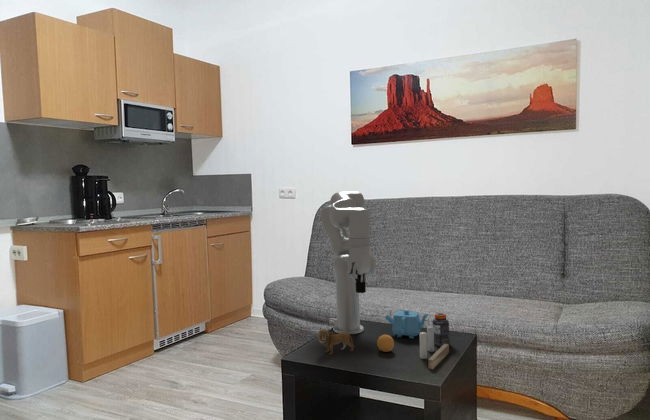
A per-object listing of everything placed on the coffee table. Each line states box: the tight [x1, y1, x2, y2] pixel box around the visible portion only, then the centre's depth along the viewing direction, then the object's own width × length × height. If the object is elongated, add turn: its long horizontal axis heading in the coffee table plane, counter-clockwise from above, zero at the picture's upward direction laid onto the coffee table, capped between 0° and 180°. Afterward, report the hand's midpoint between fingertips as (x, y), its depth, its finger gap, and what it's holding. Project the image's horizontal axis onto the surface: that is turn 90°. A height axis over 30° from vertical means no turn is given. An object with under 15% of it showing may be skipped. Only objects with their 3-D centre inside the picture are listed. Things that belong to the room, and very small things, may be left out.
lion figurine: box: [317, 328, 356, 355], centre depth 171 cm, size 15×5×9 cm, turn 116°
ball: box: [376, 334, 395, 353], centre depth 170 cm, size 6×6×6 cm
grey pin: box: [426, 325, 435, 353], centre depth 169 cm, size 2×2×8 cm
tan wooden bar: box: [427, 343, 450, 370], centre depth 160 cm, size 2×18×3 cm, turn 149°
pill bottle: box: [432, 312, 450, 347], centre depth 177 cm, size 6×6×11 cm
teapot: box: [384, 309, 430, 340], centre depth 188 cm, size 18×14×10 cm
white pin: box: [419, 331, 428, 360], centre depth 162 cm, size 2×2×8 cm
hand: (360, 292), depth 174 cm, fingers closed
